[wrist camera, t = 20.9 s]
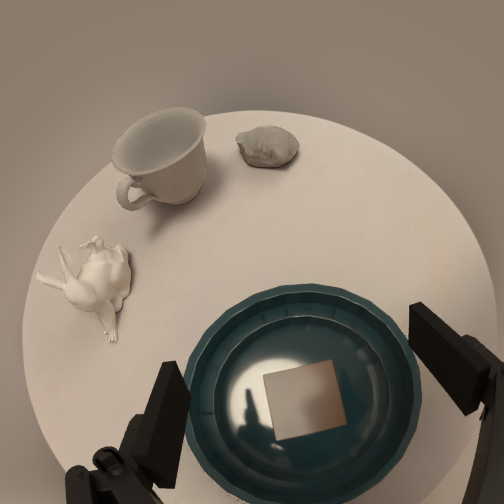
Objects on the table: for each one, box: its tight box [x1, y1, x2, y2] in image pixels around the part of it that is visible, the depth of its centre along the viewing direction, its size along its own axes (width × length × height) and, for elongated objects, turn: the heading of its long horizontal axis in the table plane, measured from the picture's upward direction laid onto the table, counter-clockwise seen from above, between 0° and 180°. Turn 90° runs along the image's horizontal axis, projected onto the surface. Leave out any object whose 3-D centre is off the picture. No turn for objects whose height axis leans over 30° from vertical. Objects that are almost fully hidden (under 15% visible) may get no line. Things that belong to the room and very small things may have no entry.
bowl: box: [183, 284, 422, 504], centre depth 23 cm, size 20×20×6 cm
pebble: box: [236, 126, 299, 167], centre depth 40 cm, size 9×8×5 cm
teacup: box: [112, 107, 207, 211], centre depth 36 cm, size 12×15×10 cm
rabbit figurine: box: [36, 236, 131, 343], centre depth 30 cm, size 12×8×10 cm, turn 170°
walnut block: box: [263, 359, 347, 441], centre depth 21 cm, size 4×4×10 cm
